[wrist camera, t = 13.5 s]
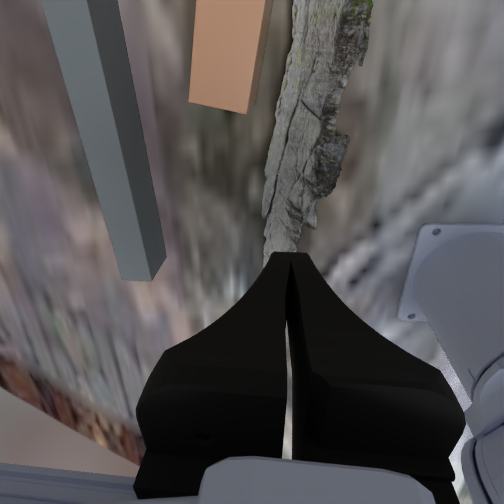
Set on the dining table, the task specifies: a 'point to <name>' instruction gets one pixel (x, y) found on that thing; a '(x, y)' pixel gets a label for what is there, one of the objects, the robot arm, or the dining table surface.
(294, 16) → the driftwood
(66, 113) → the dining table surface
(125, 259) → the slate curb
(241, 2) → the tile
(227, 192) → the dining table surface
